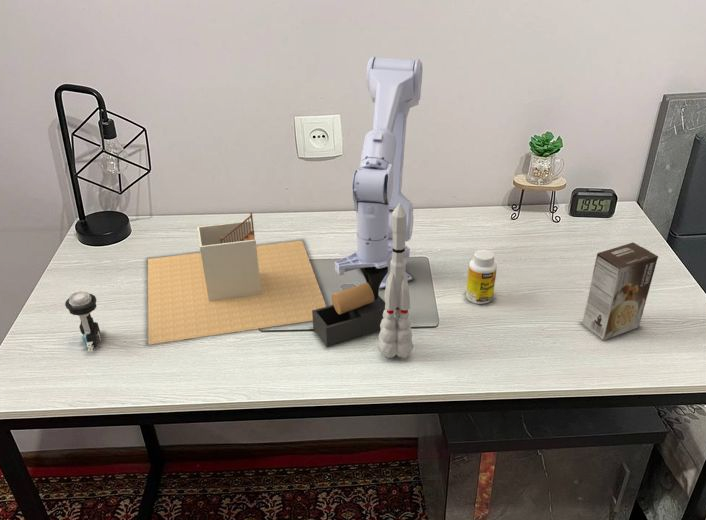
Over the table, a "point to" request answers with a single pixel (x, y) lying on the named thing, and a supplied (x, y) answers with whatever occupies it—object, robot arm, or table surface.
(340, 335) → the caddy
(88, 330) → the push button
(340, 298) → the paper roll
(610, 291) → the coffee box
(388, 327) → the rocket model
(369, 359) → the table surface
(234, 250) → the staircase
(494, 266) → the supplement bottle
